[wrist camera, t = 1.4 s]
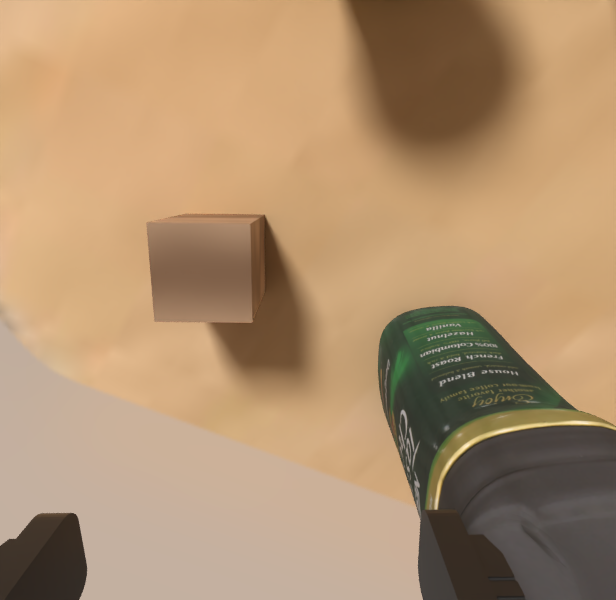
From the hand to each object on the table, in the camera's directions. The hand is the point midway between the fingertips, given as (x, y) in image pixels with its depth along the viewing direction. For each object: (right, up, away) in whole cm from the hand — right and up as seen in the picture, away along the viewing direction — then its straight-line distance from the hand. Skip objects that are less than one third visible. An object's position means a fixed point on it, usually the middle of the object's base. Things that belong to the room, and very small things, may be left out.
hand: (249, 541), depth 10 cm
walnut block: (-4, +9, +18) cm, 21 cm away
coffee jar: (+10, +1, +20) cm, 23 cm away
